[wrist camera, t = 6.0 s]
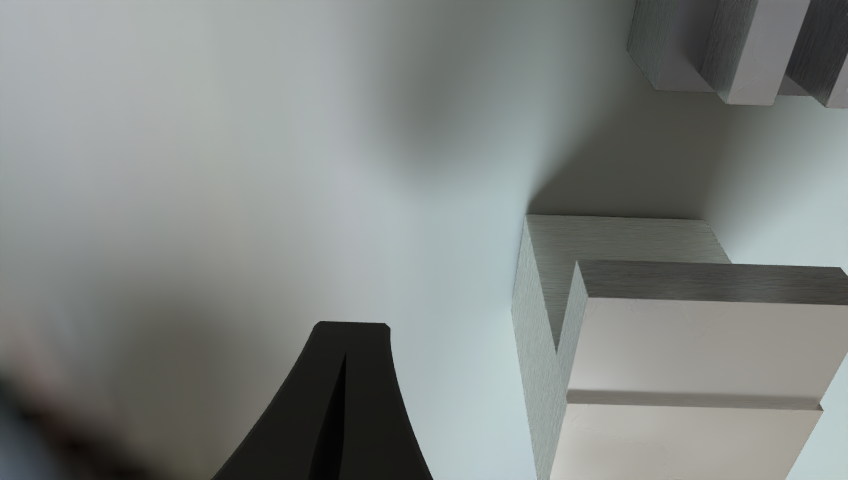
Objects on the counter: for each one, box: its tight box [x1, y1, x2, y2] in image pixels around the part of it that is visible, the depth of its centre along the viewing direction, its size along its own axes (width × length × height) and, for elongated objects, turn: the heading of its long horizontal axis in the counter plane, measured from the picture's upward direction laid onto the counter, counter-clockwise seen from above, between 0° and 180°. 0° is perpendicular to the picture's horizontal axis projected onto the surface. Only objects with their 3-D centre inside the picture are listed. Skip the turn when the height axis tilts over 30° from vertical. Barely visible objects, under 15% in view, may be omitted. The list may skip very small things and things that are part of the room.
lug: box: [511, 214, 848, 480], centre depth 13 cm, size 4×5×5 cm
